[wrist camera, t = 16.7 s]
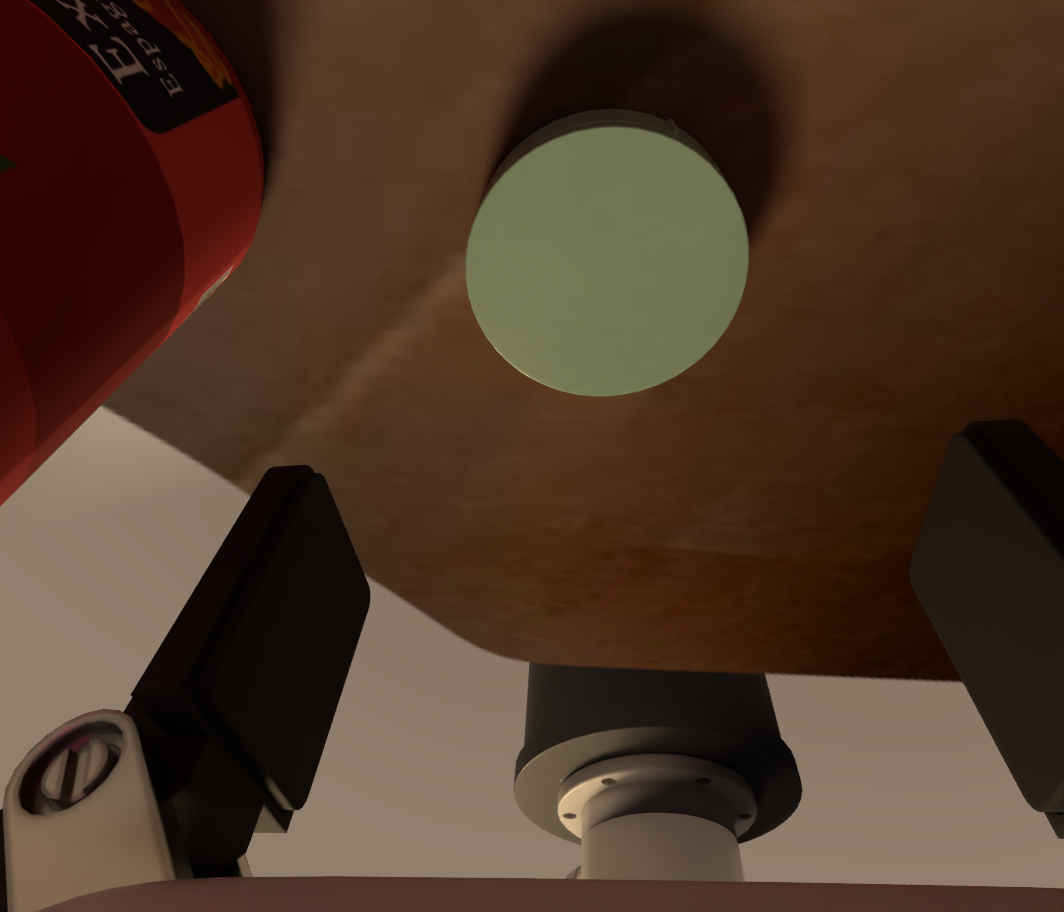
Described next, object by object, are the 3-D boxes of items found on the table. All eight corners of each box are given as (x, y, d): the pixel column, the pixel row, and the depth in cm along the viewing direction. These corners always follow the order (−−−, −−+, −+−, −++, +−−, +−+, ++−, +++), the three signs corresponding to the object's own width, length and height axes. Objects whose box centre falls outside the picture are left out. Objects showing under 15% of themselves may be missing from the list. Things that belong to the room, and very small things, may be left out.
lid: (535, 50, 14) (530, 62, 13) (793, 179, 15) (814, 203, 14) (440, 311, 18) (429, 341, 17) (652, 395, 19) (657, 429, 18)
